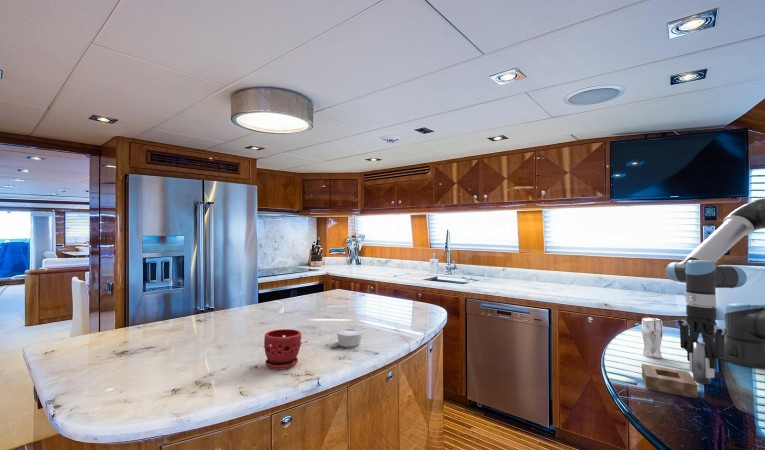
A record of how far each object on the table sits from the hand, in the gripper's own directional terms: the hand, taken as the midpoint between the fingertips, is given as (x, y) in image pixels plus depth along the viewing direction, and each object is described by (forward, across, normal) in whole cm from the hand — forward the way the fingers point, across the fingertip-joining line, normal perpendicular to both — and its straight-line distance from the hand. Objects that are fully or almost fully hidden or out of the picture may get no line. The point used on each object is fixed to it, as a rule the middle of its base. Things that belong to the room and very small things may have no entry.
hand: (701, 374), depth 117 cm
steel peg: (+2, 0, 0) cm, 2 cm away
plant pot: (+3, -42, -140) cm, 146 cm away
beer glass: (+3, -24, +8) cm, 26 cm away
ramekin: (+3, -63, -112) cm, 129 cm away
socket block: (+2, 0, -15) cm, 15 cm away
